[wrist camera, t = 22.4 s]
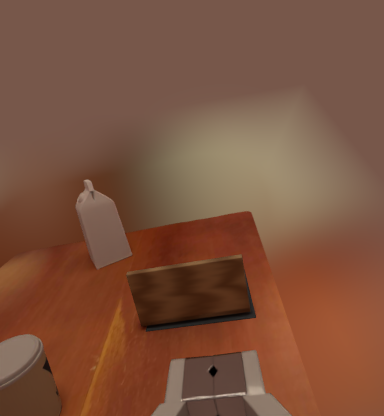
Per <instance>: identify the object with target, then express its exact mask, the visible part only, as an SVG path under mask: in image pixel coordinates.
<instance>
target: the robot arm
mask: <svg viewBox="0 0 384 416" xmlns="http://www.w3.org/2000/svg"><path fill="white" fill-rule="evenodd" d="M151 416H292V415H291V414H290V413H289V412H288V411H287V410H286V409H285V408H284V407H283V406H282V405H281V404H280V403H279V402H278V401H277V400H276V399H275V398H274V396H273V395H272V394H271V393H267V394H266V392H265V388H264V383H263V379H262V374H261V369H260V365H259V360H258V355H257V352H256V350H252V351H244V352H242V354H241V352H236V353H228V354H220V355H213V356H203V357H191V358H183V359H172V360H171V362H170V367H169V374H168V381H167V388H166V394H165V401H164V404H160V405H159V406H158V407H157V409H156V410H155V411H154V412H153V414H152V415H151Z"/></svg>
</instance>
